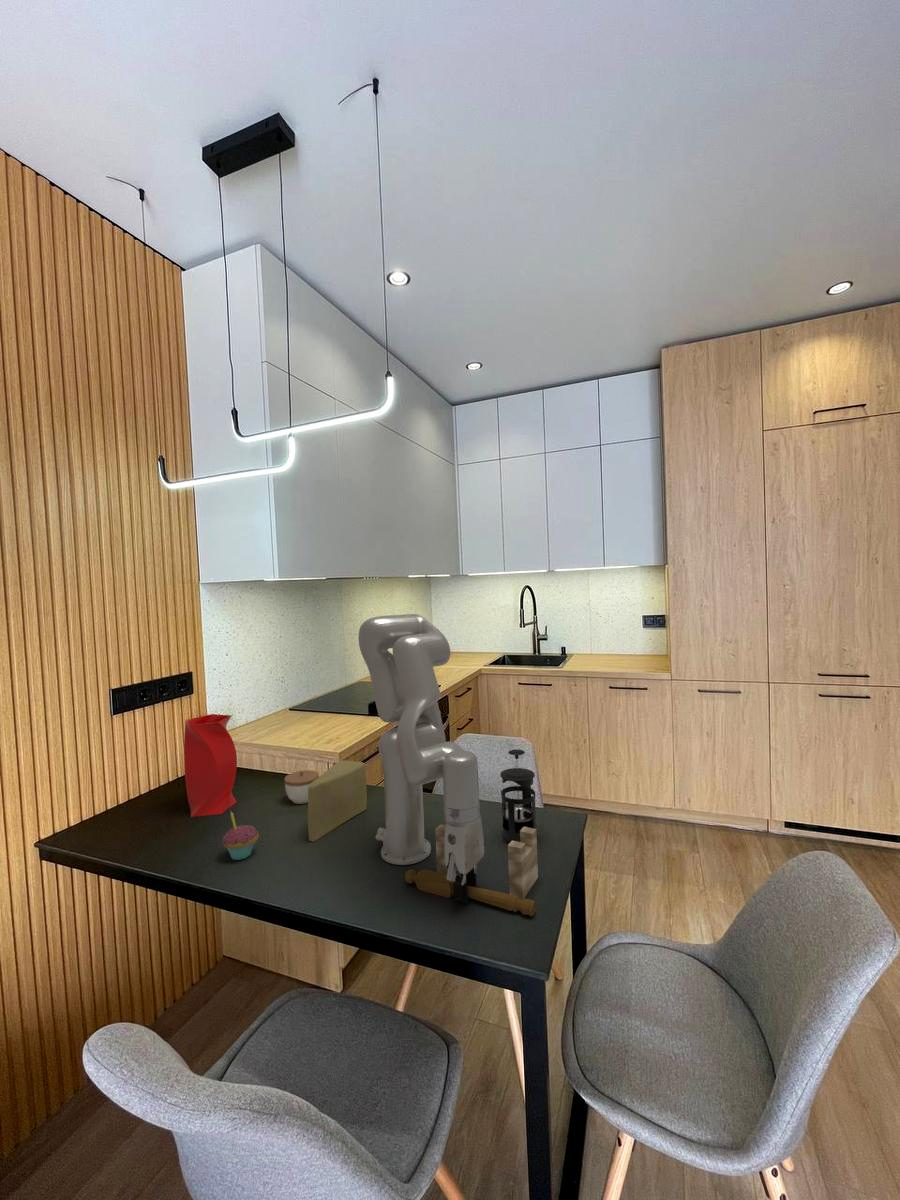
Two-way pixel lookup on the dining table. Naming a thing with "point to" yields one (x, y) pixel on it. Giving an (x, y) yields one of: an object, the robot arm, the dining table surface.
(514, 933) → the dining table surface
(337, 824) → the cheese
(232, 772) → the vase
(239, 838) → the cupcake
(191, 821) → the dining table surface
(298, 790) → the lidded jar
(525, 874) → the block
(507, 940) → the dining table surface
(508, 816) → the french press
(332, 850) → the dining table surface
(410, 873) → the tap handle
